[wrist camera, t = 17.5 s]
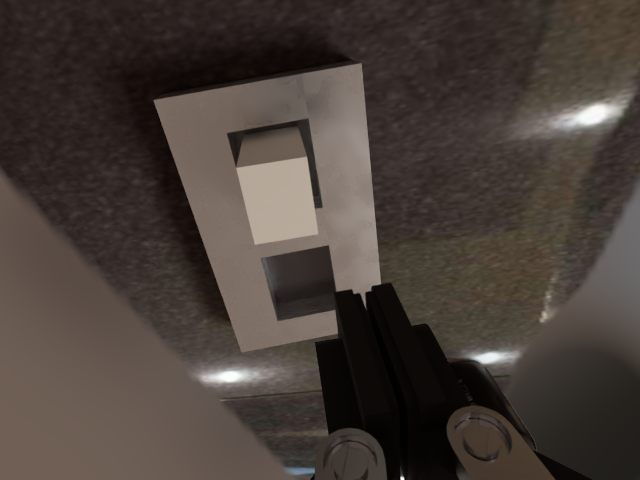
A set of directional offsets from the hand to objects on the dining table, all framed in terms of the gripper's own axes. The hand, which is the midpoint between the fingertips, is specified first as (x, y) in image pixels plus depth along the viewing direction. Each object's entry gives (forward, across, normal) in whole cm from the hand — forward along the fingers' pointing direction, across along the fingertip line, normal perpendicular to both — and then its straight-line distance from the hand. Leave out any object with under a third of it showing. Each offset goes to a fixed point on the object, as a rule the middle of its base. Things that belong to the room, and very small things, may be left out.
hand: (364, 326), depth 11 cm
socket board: (+18, +2, +5) cm, 19 cm away
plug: (+18, +2, 0) cm, 18 cm away
